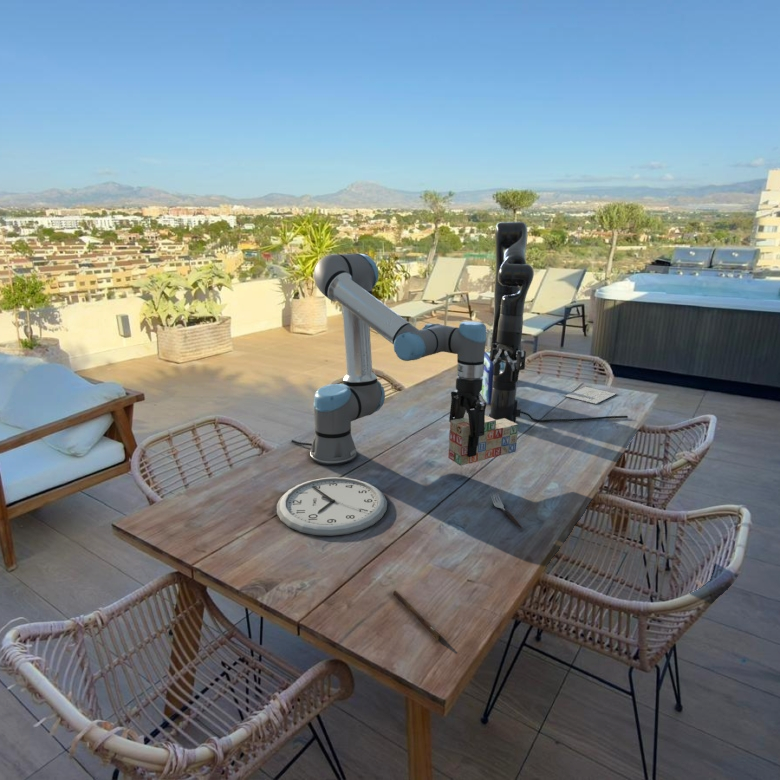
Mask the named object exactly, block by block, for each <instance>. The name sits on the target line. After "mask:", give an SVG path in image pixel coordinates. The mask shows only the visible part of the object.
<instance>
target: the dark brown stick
mask: <svg viewBox="0 0 780 780" xmlns="http://www.w3.org/2000/svg"><path fill="white" fill-rule="evenodd" d="M392 595H393V596H394V597H395V598H396V599H397V600H398V601H399V602H400V603H401V604H402V605H403V606H404V607H405V608H406V609H407V610H408V612H410V613H411V614H412V615H413V616H414V618H416V619H417V620H418V621H419V622H420V623H421V624H422V625H423V626H424V628H426V629H427V630H428V631H429V633H430V634H431V635H432V636H433V637H434V638H435V639H436V640H437V641H439V640H441V635H440V634H439V633H438V631H436V629H435V628H434V627H433V626H432V625H431V624H430V623H429V622H428V621H427V620H426V619H425V618H424V617H423V616H422V615H421V614H420V613H419V612H418V611H417V610H416V609H415V608H414V607H413V606H412V605H411V604H410V603H409V602H408V601H407V600H406V599H405V598H404V597H403V596H402V595H401V593H399V592H398V591H397V590H394V591H393V593H392Z"/></svg>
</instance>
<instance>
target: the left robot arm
mask: <svg viewBox="0 0 780 780" xmlns="http://www.w3.org/2000/svg"><path fill="white" fill-rule="evenodd" d="M379 274H380V273H379V269H378V266H377V264H376V262H375V261H374V259H372V257H371V256H369V255H367V254H365V253H356V252H353V253H339V254H336V253H335V254H334V253H332V254H327V255H325V256H323V257H321V259H320V260H318V262H317V263H316V264H315V267H314V271H313V279H314V283H315V286H316V288H317V289H318V290H319V292H320V293H321V294H322V295H324V296H325V297H326V298H327V299H328V300H330V301H331V302H334V303H336V302H338V303H339V304H340V305H341V306H342V307H341V309H342V321H343V322H342V323H343V337H344V350H345V364H346V374H345V375H344V377H343V378H342V383H333V384H327V385H323V386H321V387H319V388H318V389H317V390H316V391H315V393H314V396H313V397H314V401H313V411H314V413H313V415H314V437H313V440H312V443H310V442H302V441H301V442H300V441H297V440H294V439H291V443H293V444H296V445H300V446H301V445H302V446H311V447H310V449H309V450H310V451H309V457H310V459H311V461H312V462H314V463H316V464H319V465H323V466H341V465H345V464H349V463H351V462H353V461H354V460H355V459H356V458H357V448H356V447H357V446H356V444H355V442H354V438H353V436H352V422H353V421H354V422H355V421H356V420H358V419H359V420H360V419H362V418H364V417H367V416H371V415H373V414H374V413H376V412H378V411H379V410H381V408H382V407H383V406H384V404H385V400H386V392H385V388H384V386H382V382H380V381H379V380H378V376H377V375H376V374H375V373H374V372H373V362H372V361H373V360H372V343H371V329H373V330H374V332H376V333H377V334H379V335H380V336H382V337H383V338H384V339H385V340H386V341H388V342H389V343H391V344H392V345H393V350H394V353H395V354H396V356H397V358H398V359H399V360H401V361H404V362H411V361H418V360H420V359H422V358H425V357H429V356H432V355H436V354H439V353H448V354H453V355H456V356H457V357H456V358H457V361H456V362H457V364H456V375H457V376H456V377H455V389H456V390H452V391H451V392H450V399H451V400H450V410H449V418H448V422H449V423H450V421H451V420H455V419H461V418H465V415H466V413H467V417H469V425H470V432H471V435H469V439H468V453H467V456H468V457H472V456H476V452H477V446H478V438H479V436H483V435H484V426H485V415H486V408H487V403H486V402H485V401H483V402H482V401H481V399H480V391H481V390H482V384H483V379H482V378H481V377H483V373H484V354H485V352H486V342H487V325H486V324H485V323H483V322H480V321H472V320H470V321H469V320H467V321H466V320H465V321H462V322H460V323H459V324H458V325H459V326H458V327H456V326H452V325H451V326H450V325H445V324H441V323H427V324H425V325H424V327H422V328H421V329H418V328H417V327H416V326H414V325H413V324H411V323H410V322H409V321H407V320H406V319H404V318H403V317H402V316H401V315H399V314H398V313H397V312H396V311H394V310H393V309H391V308H390V307H388V306H387V305H385V303H383V302H382V301H381V300H380V299H378V298H376V297H375V296H374V295H373V288H375V287H376V285H377V283H378V281H379V276H380V275H379Z"/></svg>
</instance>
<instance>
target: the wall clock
mask: <svg viewBox="0 0 780 780" xmlns="http://www.w3.org/2000/svg"><path fill="white" fill-rule="evenodd" d="M387 509H388V500H387V498H386V496H385V494H384V493H383V492H382V491H381V490H380V489H379V488H377V487H376V486H374V485H372V484H371V483H369V482H365V481H362V480H359V479H355V478H349V477H338V476H337V477H335V476H333V477H332V476H331V477H322V478H317V479H312V480H307V481H305V482H302V483H299V484H297V485H295V486H293V487H292V488H290V489H288V490H287V491H286V492H285V493H284V494H283V495H281V496H280V498H279V499H278V502H277V503H276V515H277V517H278V518H279V520H280V521H281V522H282V523H283V524H285V525H286V526H287V527H288V528H290V529H293V530H295V531H297V532H299V533H303V534H308V535H312V536H327V537H328V536H329V537H331V536H332V537H333V536H342V535H350V534H352V533H356V532H361V531H363V530H366V529H368V528H369V527H372V526H373V525H375V524H376V523H378V522H379V521H380V520H381V519H382V518H383V517H384V516H385V514H386V512H387Z"/></svg>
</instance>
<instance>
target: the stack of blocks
mask: <svg viewBox="0 0 780 780" xmlns="http://www.w3.org/2000/svg"><path fill="white" fill-rule="evenodd" d="M518 429H519V424H518V423H517V422H516V423H514V422H512V421H509V420H507V419H505V418H503V419H499V420H495V419H493V418H491V417H490V416H489V415H486V414H485V426H484V435H483V436H479V438H478V446H477V452H476V456H472V457H468V456H467V453H468V439H469V435H471V432H470V425H469V417H468V416H466V417H464V418H461V419H455V420H451V421H450V422H449V432H448V435H449V436H448V437H449V438H448V439H449V440H448V459H449V460H451V461H452V462H454V463H455V464H457V465H458V466H460V467H461V466H466V465H468V464H474V463H477V462H482V461H485V460H488V459H493V458H496V457H500V456H504V455H508V454H513V453H516V452H517V442H518Z"/></svg>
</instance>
